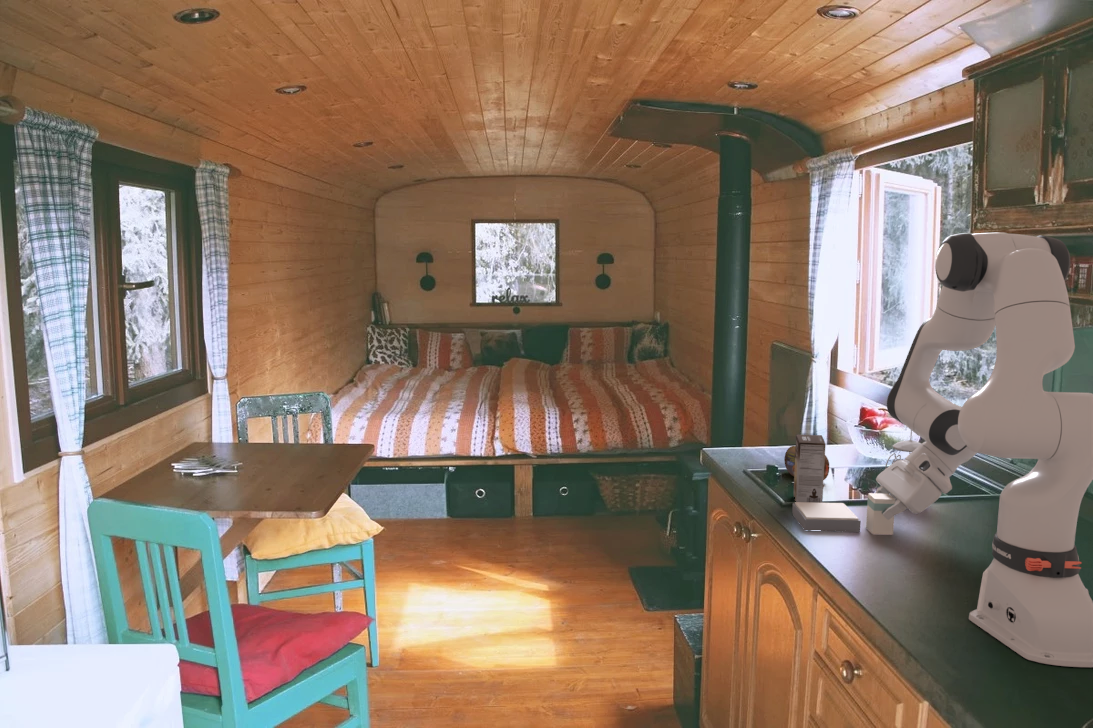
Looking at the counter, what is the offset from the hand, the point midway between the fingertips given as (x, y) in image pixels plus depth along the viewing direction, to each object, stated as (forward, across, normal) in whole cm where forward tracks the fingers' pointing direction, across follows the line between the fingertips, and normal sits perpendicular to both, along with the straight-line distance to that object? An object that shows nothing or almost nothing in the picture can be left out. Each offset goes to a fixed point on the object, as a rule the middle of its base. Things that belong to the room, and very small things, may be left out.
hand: (877, 510), depth 183 cm
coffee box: (+10, -21, -4) cm, 24 cm away
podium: (+10, -5, -4) cm, 12 cm away
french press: (-6, -23, +14) cm, 27 cm away
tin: (+7, -43, 0) cm, 44 cm away
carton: (+3, 0, +4) cm, 5 cm away
